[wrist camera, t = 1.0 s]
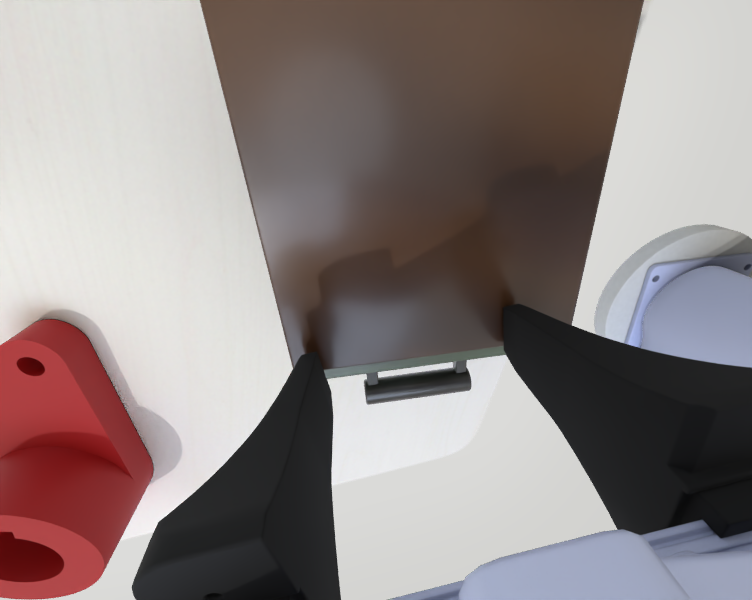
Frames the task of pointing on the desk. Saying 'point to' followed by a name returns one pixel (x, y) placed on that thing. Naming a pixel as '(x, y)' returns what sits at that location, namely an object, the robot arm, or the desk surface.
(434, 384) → the drawer
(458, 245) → the cabinet
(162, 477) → the desk surface
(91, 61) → the desk surface
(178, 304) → the desk surface
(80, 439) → the lever
